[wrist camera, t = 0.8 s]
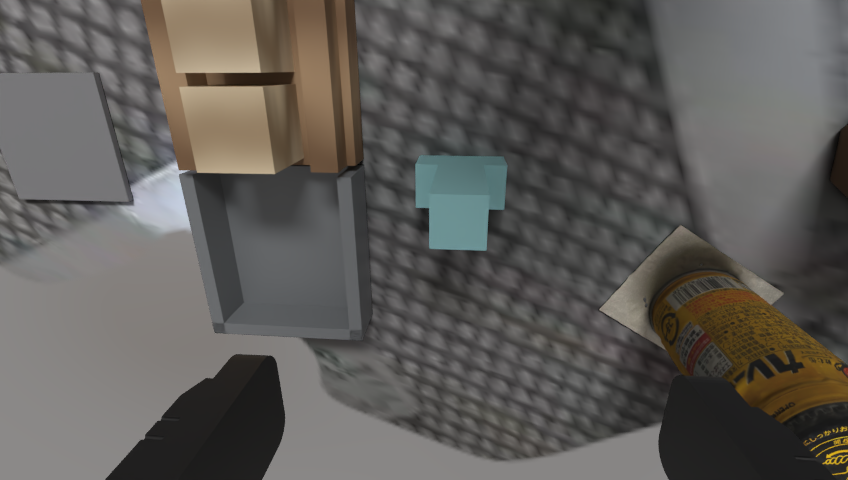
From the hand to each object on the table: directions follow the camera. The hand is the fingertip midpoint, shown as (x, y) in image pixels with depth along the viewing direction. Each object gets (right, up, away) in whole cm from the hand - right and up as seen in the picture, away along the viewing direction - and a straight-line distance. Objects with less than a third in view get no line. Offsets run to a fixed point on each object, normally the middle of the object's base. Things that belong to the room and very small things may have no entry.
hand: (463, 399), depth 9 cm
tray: (-9, +3, +20) cm, 22 cm away
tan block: (-10, +10, +15) cm, 20 cm away
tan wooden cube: (-10, +14, +13) cm, 22 cm away
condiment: (+16, -1, +19) cm, 25 cm away
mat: (-24, +10, +19) cm, 32 cm away
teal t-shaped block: (+1, +7, +17) cm, 19 cm away
